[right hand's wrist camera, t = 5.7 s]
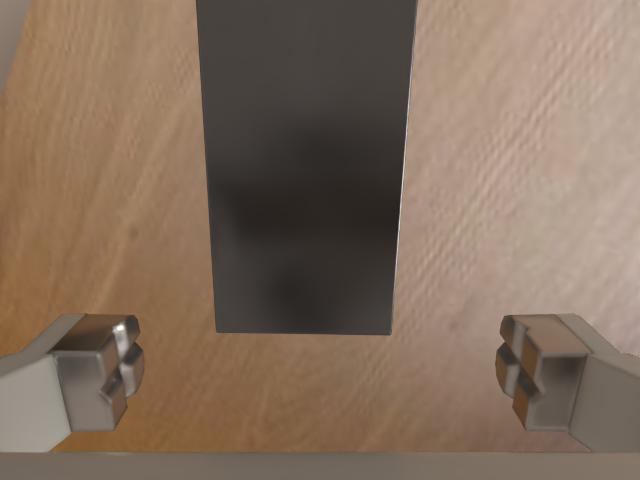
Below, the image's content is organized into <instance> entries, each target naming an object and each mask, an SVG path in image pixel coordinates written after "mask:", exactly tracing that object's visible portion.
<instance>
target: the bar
mask: <svg viewBox="0 0 640 480" xmlns="http://www.w3.org/2000/svg"><path fill="white" fill-rule="evenodd" d="M417 3H418V0H196V10H197V26H198V43H199V59H200V75H201V92H202V108H203V125H204V141H205V158H206V174H207V190H208V207H209V223H210V240H211V256H212V273H213V289H214V305H215V322H216V332H218V333H274V334H336V335H391V334H392V321H393V308H394V296H395V283H396V270H397V258H398V245H399V232H400V219H401V207H402V194H403V181H404V169H405V156H406V143H407V130H408V118H409V105H410V92H411V80H412V67H413V54H414V41H415V29H416V16H417Z"/></svg>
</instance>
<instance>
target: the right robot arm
mask: <svg viewBox="0 0 640 480" xmlns="http://www.w3.org/2000/svg"><path fill="white" fill-rule="evenodd" d="M139 334H140V328H139V323H138V319H137V318H136V317H135V316H134V315H109V314H65V315H61V316H60V317H59V318H58V319H57V320H55V321H54V322H53V323H52V324H51V325H50V326H49V327H48V328H47V329H46V330H44V331H43V332H42V333H41V334H40V335H39V336H38V337H37V338H36V339H34V340H33V341H32V342H31V343H30V344H29V345H28V346H27V347H26V348H25V349H23V350H22V351H21V352H20V353H19V354H10V355H7V356H5V357H2V358H0V480H640V358H638V357H635V356H633V355H630V354H621V353H620V352H619V351H618V350H617V349H615V348H614V347H613V346H612V345H611V344H610V343H609V342H608V341H607V340H606V339H604V338H603V337H602V336H601V335H600V334H599V333H598V332H597V331H596V330H595V329H593V328H592V327H591V326H590V325H589V324H588V323H587V322H586V321H585V320H584V319H582V318H581V317H580V316H579V315H576V314H537V315H508V316H504V318H503V320H502V322H501V328H500V334H501V336H502V337H503V339H504V340H505V342H504V343H503V344H502V345H501V346H500V348H499V349H498V350H497V353H496V362H495V366H496V376H497V379H498V382H499V385H500V387H501V389H502V390H503V392H504V393H505V394H506V395H508V396H510V397H511V398H513V399H514V401H513V407H512V408H513V409H514V411H515V413H516V414H517V416H518V418H519V420H520V421H521V423H522V425H523V426H524V428H525V430H526V431H560V432H569V434H570V435H571V436H572V437H574V438H575V439H576V440H578V441H579V442H580V443H582V444H583V445H584V446H586V447H587V448H588V449H590V450H591V451H592V452H48V451H49V450H50V449H52V448H53V447H54V446H56V445H57V444H58V443H60V442H61V441H62V440H64V439H65V438H66V437H68V436H69V435H70V434H71V432H80V431H114V430H115V428H116V426H117V425H118V423H119V421H120V420H121V418H122V416H123V414H124V413H125V411H126V409H127V408H128V407H127V401H126V399H127V398H129V397H130V396H132V395H134V394H135V393H136V392H137V390H138V388H139V387H140V385H141V382H142V378H143V374H144V361H145V360H144V353H143V350H142V349H141V348H140V346H139V345H138V344H137V343H136V342H135V340H136V339H137V337H138V336H139Z"/></svg>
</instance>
